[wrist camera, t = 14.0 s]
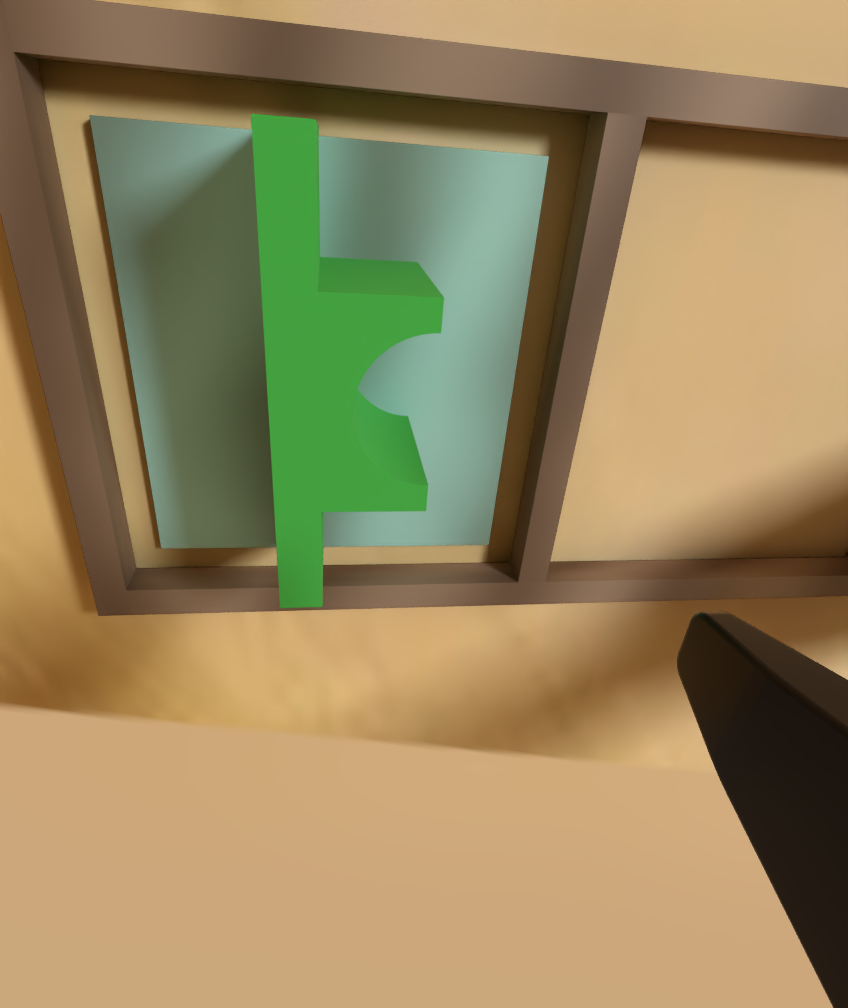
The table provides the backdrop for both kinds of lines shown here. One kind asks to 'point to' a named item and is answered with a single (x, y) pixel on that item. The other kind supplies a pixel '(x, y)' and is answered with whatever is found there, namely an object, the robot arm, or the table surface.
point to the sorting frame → (357, 235)
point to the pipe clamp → (327, 361)
